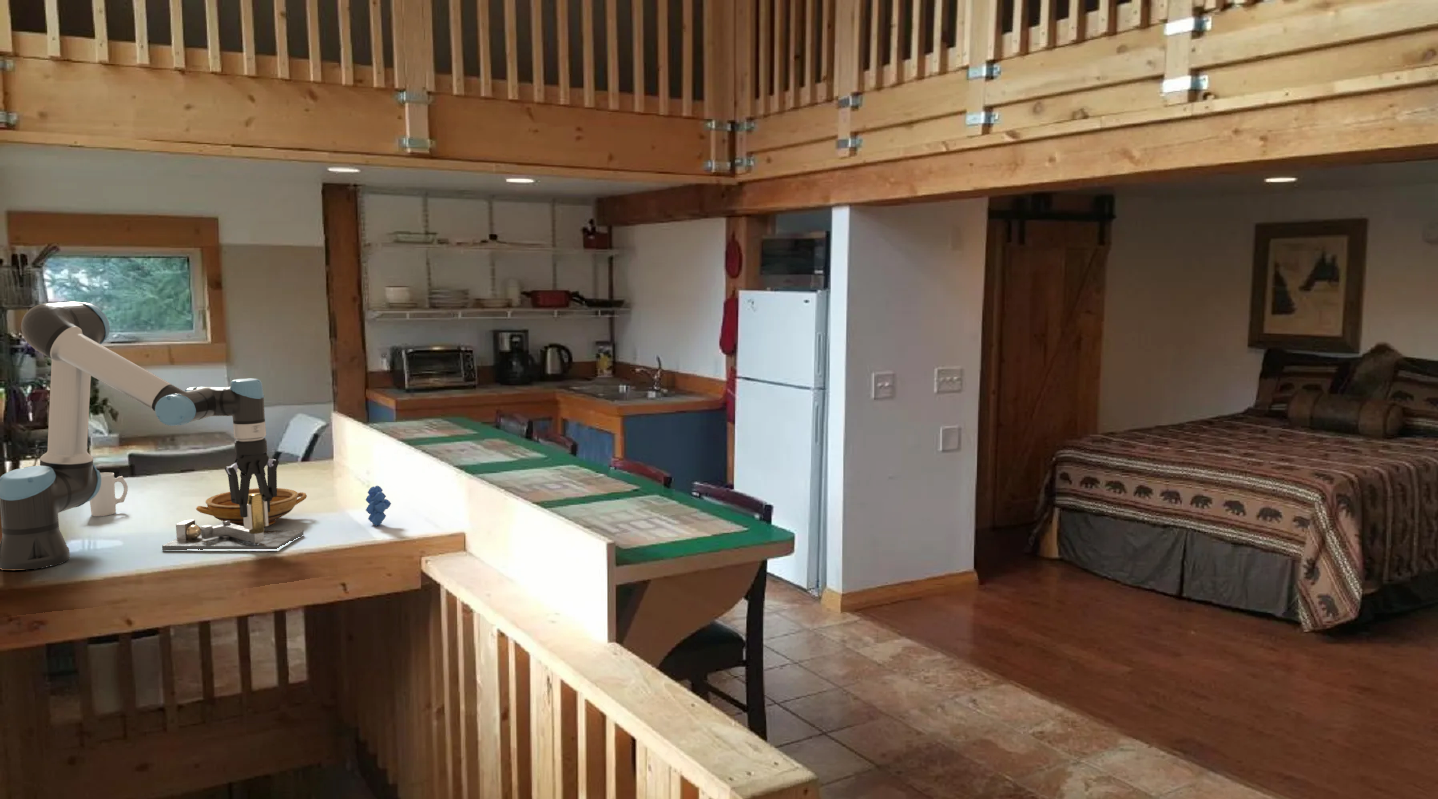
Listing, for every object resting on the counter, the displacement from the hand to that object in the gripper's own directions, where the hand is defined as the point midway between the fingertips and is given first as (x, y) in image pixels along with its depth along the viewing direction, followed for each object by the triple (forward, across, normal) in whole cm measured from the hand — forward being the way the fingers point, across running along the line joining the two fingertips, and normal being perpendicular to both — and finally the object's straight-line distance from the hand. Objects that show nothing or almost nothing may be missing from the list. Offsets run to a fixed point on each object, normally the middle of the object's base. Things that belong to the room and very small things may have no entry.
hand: (256, 526), depth 258 cm
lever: (+4, -3, +7) cm, 8 cm away
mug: (+6, -6, +73) cm, 73 cm away
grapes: (+7, +34, -4) cm, 35 cm away
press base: (+6, -1, +10) cm, 12 cm away
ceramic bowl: (+6, +14, +26) cm, 31 cm away
